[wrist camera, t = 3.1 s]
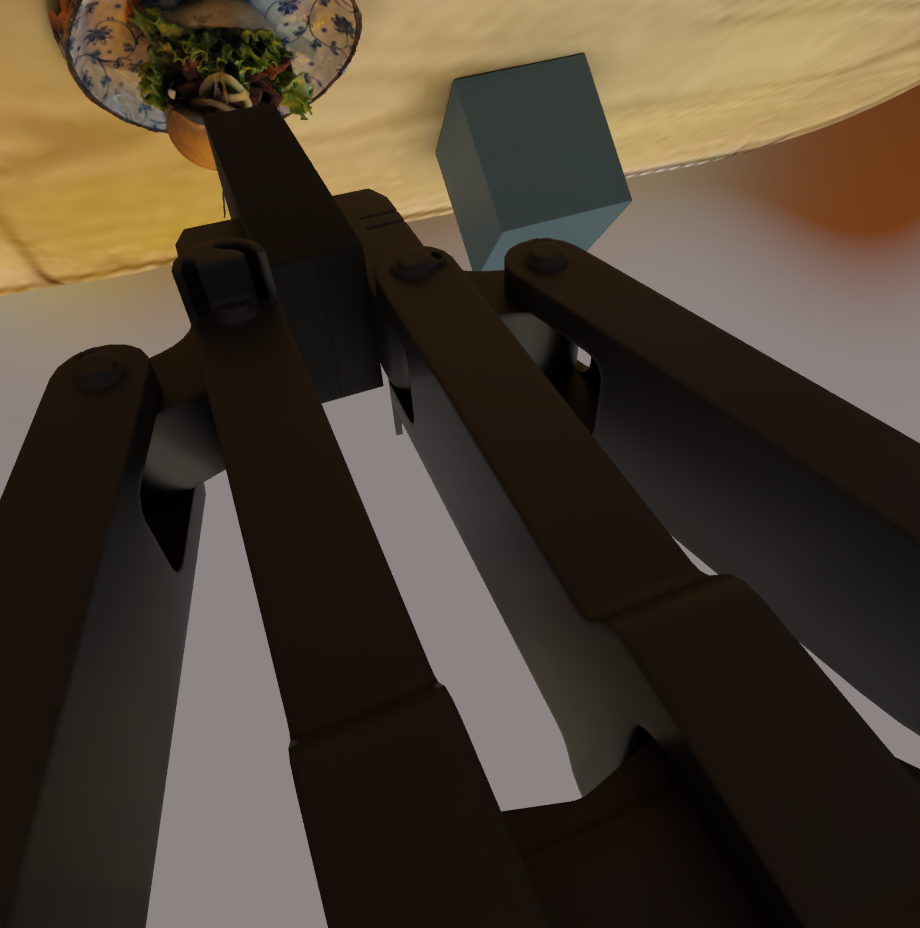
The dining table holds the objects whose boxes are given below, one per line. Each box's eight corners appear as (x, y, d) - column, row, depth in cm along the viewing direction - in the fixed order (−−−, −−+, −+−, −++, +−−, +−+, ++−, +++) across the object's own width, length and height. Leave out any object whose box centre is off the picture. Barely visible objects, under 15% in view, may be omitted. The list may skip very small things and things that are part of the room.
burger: (392, 21, 33) (440, 172, 32) (193, 133, 36) (235, 269, 36) (233, -189, 21) (305, 42, 21) (-33, 5, 25) (26, 203, 25)
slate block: (435, 153, 47) (475, 281, 46) (453, 79, 39) (502, 232, 39) (545, 129, 48) (585, 253, 48) (585, 52, 40) (633, 200, 40)
